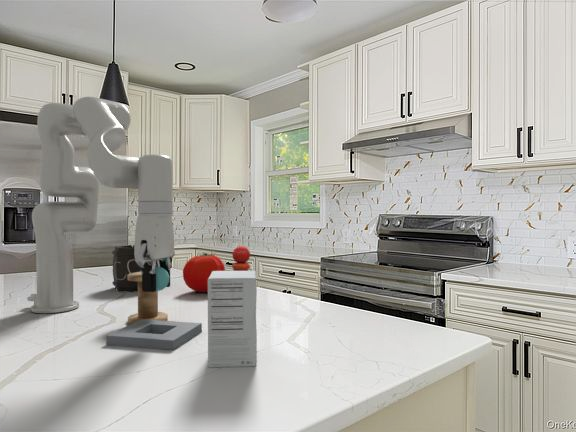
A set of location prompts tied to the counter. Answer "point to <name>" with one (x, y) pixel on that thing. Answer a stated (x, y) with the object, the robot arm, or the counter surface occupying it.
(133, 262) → the black lettered canister
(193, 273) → the tomato
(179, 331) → the square hole board
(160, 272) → the teal ball
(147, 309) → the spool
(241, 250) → the stacking toy
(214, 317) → the supplement box
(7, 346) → the counter surface
